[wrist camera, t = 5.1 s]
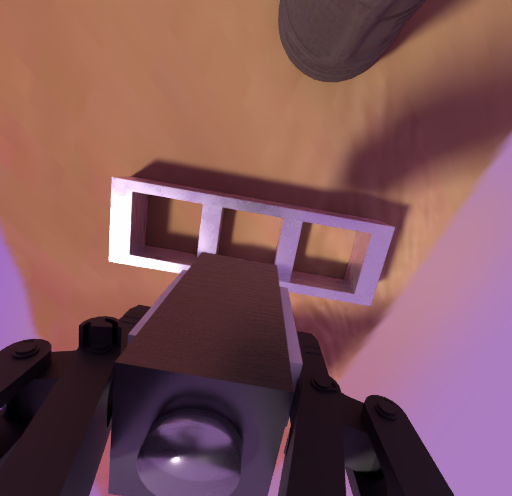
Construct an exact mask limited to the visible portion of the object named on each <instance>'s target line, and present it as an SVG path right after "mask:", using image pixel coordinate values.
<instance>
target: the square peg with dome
mask: <svg viewBox="0 0 512 496" xmlns="http://www.w3.org/2000/svg"><path fill="white" fill-rule="evenodd" d="M293 393H294V390H293V383H292V375H291V368H290V360H289V353H288V345H287V337H286V330H285V322H284V315H283V307H282V300H281V292H280V285H279V277H278V269H277V265H275V264H269V263H263V262H258V261H252V260H246V259H241V258H235V257H229V256H223V255H218V254H212V253H206V252H202V253H201V254H200V255H199V256H198V258H197V259H196V260H195V261H194V263H193V264H192V265H191V266H190V268H189V269H188V270H187V272H186V273H185V274H184V275H183V277H182V278H181V279H180V280H179V282H178V283H177V284H176V285H175V287H174V288H173V289H172V290H171V292H170V293H169V294H168V295H167V297H166V298H165V299H164V301H163V302H162V303H161V304H160V306H159V307H158V308H157V309H156V311H155V312H154V313H153V314H152V316H151V317H150V318H149V319H148V321H147V322H146V323H145V325H144V326H143V327H142V328H141V330H140V331H139V332H138V333H137V335H136V336H135V337H134V338H133V340H132V341H131V342H130V343H129V345H128V346H127V347H126V348H125V350H124V351H123V352H122V354H121V355H120V356H119V357H118V359H117V360H116V361H115V366H114V387H113V408H112V429H111V450H110V471H109V492H108V494H114V495H121V496H267V495H268V491H269V488H270V484H271V480H272V476H273V472H274V468H275V464H276V460H277V456H278V452H279V448H280V444H281V441H282V437H283V433H284V429H285V425H286V421H287V417H288V413H289V409H290V405H291V401H292V397H293Z"/></svg>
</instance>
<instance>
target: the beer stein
mask: <svg viewBox="0 0 512 496" xmlns="http://www.w3.org/2000/svg"><path fill="white" fill-rule="evenodd" d="M425 1H426V0H280V5H279V19H278V22H279V33H280V38H281V42H282V45H283V47H284V49H285V52H286V54H287V55H288V57H289V59H290V60H291V62H292V63H293V64H294V65H295V66H296V67H297V68H298V69H299V70H300V71H301V72H303V73H304V74H305V75H307V76H309V77H311V78H313V79H315V80H319V81H323V82H340V81H344V80H348V79H351V78H353V77H355V76H357V75H359V74H361V73H363V72H364V71H365V70H367V69H368V68H369V67H370V66H371V65H373V64H374V63H375V62H376V60H377V59H378V58H379V57H380V56H381V54H382V53H383V52H384V51H385V50H386V49H387V48H388V47H389V46H390V45H391V44H392V43H393V42H394V41H395V39H396V37H397V36H398V34H399V32H400V30H401V28H402V27H403V26H404V25H405V24H406V22H407V21H408V20H409V19H410V18H411V17H412V16H413V14H414V13H415V12H416V11H417V10H418V9H419V8H420V7H421V5H422V4H423V3H424V2H425Z"/></svg>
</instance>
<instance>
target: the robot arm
mask: <svg viewBox="0 0 512 496" xmlns="http://www.w3.org/2000/svg"><path fill="white" fill-rule="evenodd" d="M186 272H187V270H182V271H181V273H180V274H179V275H178V276H177V277H176V278H175V280H174V281H173V282H172V283H171V284H170V286H169V287H168V288H167V289H166V290H165V291H164V293H163V294H162V295H161V296H160V297H159V299H158V300H157V301H156V302H155V303H154V304H153V306H152V307H148V306H143V305H138V306H136V307H134V308H131V309H129V310H128V311H127V312H126V313H125V314H124V315H123V317H121V318H120V319H116V318H114V317H108V316H104V317H95V318H91V319H88V320H86V321H84V322H83V323H81V324H80V325H79V347H78V349H77V350H75V351H61V352H51V344H50V343H49V342H48V341H45V340H43V339H29V340H23V341H20V342H16V343H14V344H11V345H10V346H8V347H6V348H4V349H3V350H1V351H0V408H2V409H1V410H0V496H89V494H90V491H91V488H92V485H93V482H94V479H95V476H96V473H97V470H98V467H99V464H100V461H101V458H102V455H103V452H104V449H105V446H106V442H107V439H108V436H109V433H110V430H111V427H112V408H113V387H114V366H115V361H116V360H117V359H118V357H119V356H120V355H121V354H122V352H123V351H124V350H125V348H126V347H127V346H128V345H129V343H130V342H131V341H132V340H133V338H134V337H135V336H136V335H137V333H138V332H139V331H140V330H141V328H142V327H143V326H144V325H145V323H146V322H147V321H148V319H149V318H150V317H151V316H152V314H153V313H154V312H155V311H156V309H157V308H158V307H159V306H160V304H161V303H162V302H163V301H164V299H165V298H166V297H167V295H168V294H169V293H170V292H171V290H172V289H173V288H174V287H175V285H176V284H177V283H178V282H179V280H180V279H181V278H182V277H183V275H184V274H185V273H186ZM280 292H281V300H282V307H283V315H284V322H285V330H286V337H287V345H288V353H289V360H290V368H291V375H292V383H293V390H294V393H293V397H292V401H291V405H290V409H289V413H288V417H287V421H286V425H285V426H286V427H287V424H288V420H289V416H290V422H291V427H290V431H289V435H288V438H287V442H286V446H285V450H284V454H285V457H284V463H283V469H282V475H281V480H280V487H279V493H278V496H346V487H345V485H346V484H345V469H346V473H347V476H348V480H349V483H350V487H351V490H352V494H353V496H454V494H453V493H452V491H451V489H450V488H449V486H448V484H447V483H446V481H445V479H444V477H443V476H442V474H441V472H440V471H439V469H438V467H437V466H436V464H435V462H434V461H433V459H432V457H431V456H430V454H429V452H428V451H427V449H426V447H425V446H424V444H423V442H422V441H421V439H420V437H419V436H418V434H417V432H416V431H415V429H414V427H413V426H412V424H411V422H410V420H409V419H408V417H407V415H406V414H405V413H404V411H403V410H402V409H401V408H400V407H399V406H398V405H397V404H396V403H394V402H393V401H391V400H389V399H387V398H385V397H382V396H379V395H371V396H368V397H367V398H366V400H365V402H364V403H362V402H360V401H357V400H355V399H353V398H350V397H348V396H346V395H344V394H343V393H341V390H340V387H339V385H338V384H337V382H336V381H335V380H334V379H333V378H331V377H330V376H329V375H328V371H327V368H326V365H325V362H324V359H323V356H322V352H321V350H320V346H319V343H318V340H317V339H316V338H315V337H314V336H313V335H312V334H310V333H304V332H298V331H296V327H295V322H294V317H293V312H292V307H291V302H290V297H289V292H288V288H285V287H280Z"/></svg>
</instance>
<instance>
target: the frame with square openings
mask: <svg viewBox="0 0 512 496" xmlns="http://www.w3.org/2000/svg"><path fill="white" fill-rule="evenodd" d="M149 194H150V195H156V196H161V197H167V198H173V199H178V200H184V201H190V202H195V203H201V204H203V210H202V218H201V226H200V235H199V243H198V251H197V254H193V253H187V252H182V251H176V250H170V249H164V248H158V247H153V246H147V245H145V240H146V225H147V210H148V195H149ZM224 208H229V209H235V210H241V211H246V212H252V213H258V214H264V215H269V216H275V217H281V218H282V222H281V227H280V232H279V237H278V242H277V247H276V252H275V257H274V262H273V264H275V265H277V269H278V277H279V285H280V287H285V288H288V292H292V293H298V294H304V295H309V296H315V297H321V298H327V299H333V300H338V301H344V302H350V303H356V304H362V305H367V306H371V303H372V300H373V297H374V294H375V290H376V287H377V284H378V281H379V278H380V274H381V271H382V268H383V265H384V262H385V258H386V255H387V252H388V249H389V246H390V242H391V239H392V236H393V233H394V230H395V227H394V226H391V225H389V224H387V223H384V222H382V221H380V220H375V219H369V218H364V217H358V216H353V215H347V214H341V213H336V212H330V211H324V210H319V209H313V208H307V207H302V206H296V205H290V204H285V203H279V202H273V201H268V200H262V199H256V198H251V197H245V196H240V195H234V194H228V193H223V192H217V191H211V190H206V189H200V188H194V187H189V186H183V185H177V184H172V183H166V182H160V181H155V180H149V179H143V178H138V177H132V176H127V177H112V187H111V219H110V251H109V261H112V262H118V263H124V264H129V265H135V266H141V267H147V268H153V269H158V270H164V271H170V272H176V273H181V271H182V270H188V269H189V268H190V266H191V265H192V264H193V263H194V261H195V260H196V259H197V258H198V256H199V255H200V254H201V253H202V252H206V253H212V254H218V251H219V244H220V237H221V229H222V222H223V215H224ZM303 222H309V223H315V224H320V225H326V226H332V227H337V228H343V229H349V230H354V231H357V234H356V238H355V241H354V245H353V248H352V252H351V256H350V259H349V263H348V267H347V270H346V274H345V277H344V280H343V279H337V278H331V277H326V276H320V275H314V274H308V273H303V272H297V271H292V269H293V264H294V260H295V255H296V251H297V246H298V242H299V237H300V232H301V228H302V223H303Z"/></svg>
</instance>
